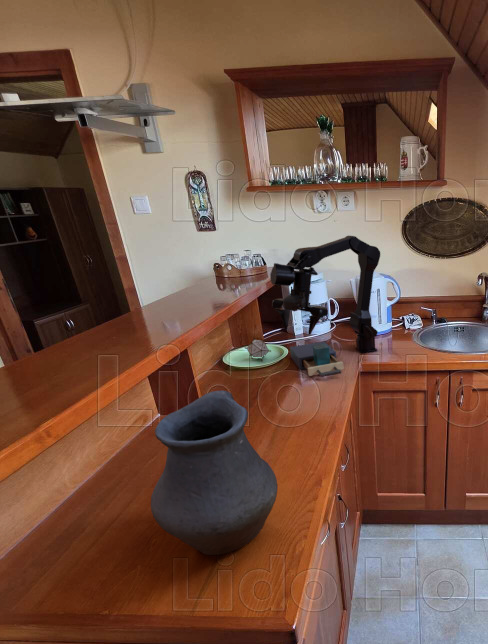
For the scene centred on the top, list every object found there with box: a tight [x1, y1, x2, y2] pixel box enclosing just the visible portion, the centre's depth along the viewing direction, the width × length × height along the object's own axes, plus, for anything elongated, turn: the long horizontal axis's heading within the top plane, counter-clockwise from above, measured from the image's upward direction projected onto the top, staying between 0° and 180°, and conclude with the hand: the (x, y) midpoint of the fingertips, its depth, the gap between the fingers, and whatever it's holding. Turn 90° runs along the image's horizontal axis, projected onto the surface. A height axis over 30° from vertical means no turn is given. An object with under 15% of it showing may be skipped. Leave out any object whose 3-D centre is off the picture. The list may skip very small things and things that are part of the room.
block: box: [313, 344, 330, 366], centre depth 145 cm, size 4×4×7 cm
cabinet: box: [289, 341, 337, 370], centre depth 156 cm, size 14×14×4 cm
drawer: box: [302, 355, 345, 378], centre depth 146 cm, size 17×12×3 cm
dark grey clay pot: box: [150, 389, 279, 556], centre depth 72 cm, size 21×22×25 cm
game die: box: [244, 337, 272, 362], centre depth 158 cm, size 9×8×10 cm
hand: (297, 331), depth 148 cm, fingers open, 9 cm apart
